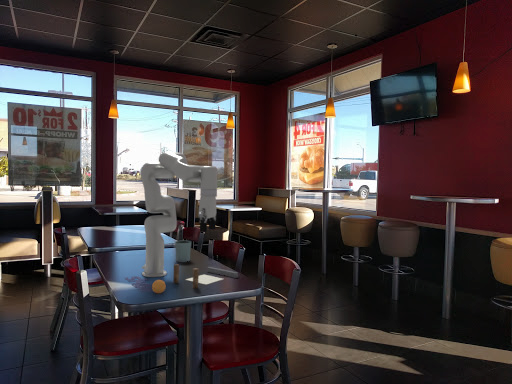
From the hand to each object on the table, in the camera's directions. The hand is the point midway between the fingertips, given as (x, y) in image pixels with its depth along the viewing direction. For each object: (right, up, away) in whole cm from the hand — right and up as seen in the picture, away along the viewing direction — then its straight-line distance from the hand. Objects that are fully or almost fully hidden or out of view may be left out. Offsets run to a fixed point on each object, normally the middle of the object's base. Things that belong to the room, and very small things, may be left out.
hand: (207, 230), depth 177 cm
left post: (-18, -28, +14) cm, 36 cm away
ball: (-22, -25, -3) cm, 33 cm away
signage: (-34, -28, +11) cm, 45 cm away
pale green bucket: (-24, -26, +66) cm, 75 cm away
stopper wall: (+4, -28, +34) cm, 44 cm away
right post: (-7, -28, +7) cm, 30 cm away
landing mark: (-4, -28, +22) cm, 36 cm away
